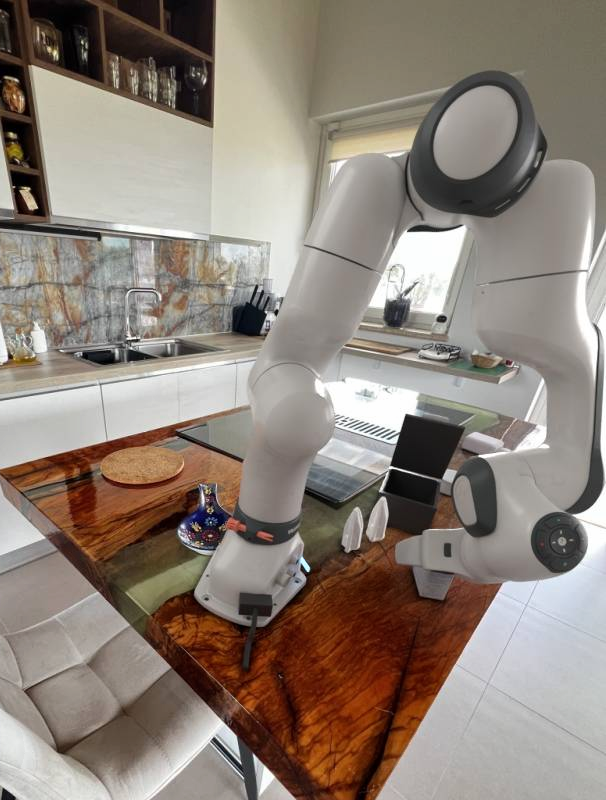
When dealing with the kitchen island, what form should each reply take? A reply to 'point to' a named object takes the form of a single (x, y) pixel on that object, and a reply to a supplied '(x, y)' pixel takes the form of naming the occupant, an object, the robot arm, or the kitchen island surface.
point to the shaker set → (374, 529)
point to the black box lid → (426, 444)
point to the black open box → (410, 500)
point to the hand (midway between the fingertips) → (437, 562)
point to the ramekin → (447, 481)
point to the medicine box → (432, 583)
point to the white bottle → (483, 444)
